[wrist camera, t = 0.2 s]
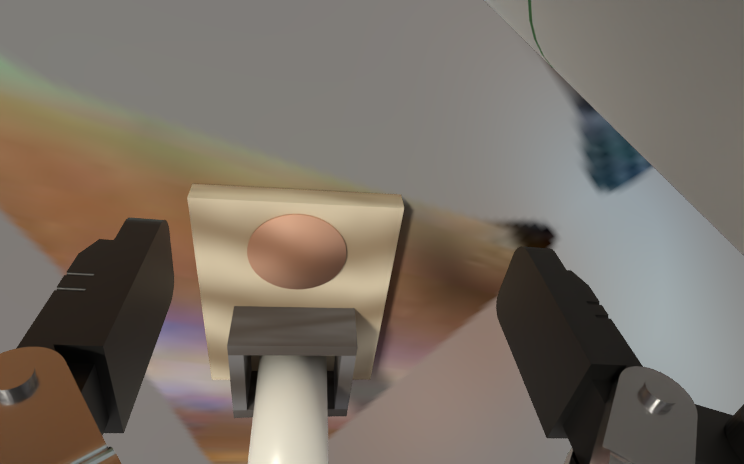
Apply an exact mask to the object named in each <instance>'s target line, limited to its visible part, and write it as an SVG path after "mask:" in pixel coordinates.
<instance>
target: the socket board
mask: <svg viewBox="0 0 744 464" xmlns="http://www.w3.org/2000/svg"><path fill="white" fill-rule="evenodd" d="M187 199H188V206H189V213H190V221H191V228H192V236H193V243H194V251H195V258H196V265H197V273H198V280H199V288H200V295H201V303H202V310H203V318H204V325H205V332H206V340H207V347H208V355H209V362H210V370H211V377H212V380H230V382H231V393H232V403H233V413H234V418H244V417H253V413H254V404H255V395H256V386H257V377H258V368H259V359H260V355H269V356H327V409H328V416H347V409H348V403H349V397H350V391H351V385H352V379H370V377H371V372H372V367H373V362H374V357H375V352H376V347H377V342H378V337H379V332H380V327H381V322H382V317H383V312H384V307H385V302H386V297H387V292H388V287H389V282H390V277H391V272H392V267H393V262H394V257H395V252H396V247H397V242H398V237H399V232H400V227H401V222H402V217H403V212H404V205H403V201H402V197H401V195H397V194H378V193H359V192H340V191H321V190H302V189H283V188H264V187H245V186H227V185H208V184H192V186H191V189H190V192H189V195H188V197H187Z"/></svg>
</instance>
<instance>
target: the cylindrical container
mask: <svg viewBox="0 0 744 464" xmlns="http://www.w3.org/2000/svg"><path fill="white" fill-rule="evenodd" d="M484 1H485V2H486V3H487V4H488V5H489V6H490V7H491V8H492V9H493V10H494V11H495V12H496V13H497V14H498V15H499V16H500V17H501V18H502V19H503V20H504V21H505V22H506V23H507V24H508V25H509V26H510V27H511V28H512V29H513V30H515V31H516V32H517V33H518V34H519V35H520V36H521V37H522V38H523V39H524V40H525V41H526V42H527V43H528V44H529V45H530V46H531V47H532V48H533V49H534V50H535V51H536V52H537V53H538V54H539V55H540V56H541V57H542V58H543V59H544V60H545V61H546V62H547V63H548V64H549V65H550V66H551V67H552V68H553V69H554V70H555V71H556V72H557V73H558V74H559V75H560V76H561V77H562V78H563V79H564V80H565V81H566V82H567V83H568V84H569V85H571V86H572V87H573V88H574V89H575V90H576V91H577V92H578V93H579V94H580V95H581V96H582V97H583V98H584V99H585V100H586V101H587V102H588V103H589V104H590V105H591V106H592V107H593V108H594V109H595V110H596V111H597V112H598V113H599V114H600V115H601V116H602V117H603V118H604V119H605V120H606V121H607V122H608V123H609V124H610V125H611V126H612V127H613V128H614V129H615V130H616V131H617V132H618V133H619V134H620V135H621V136H622V137H623V138H624V139H625V140H627V141H628V142H629V143H630V144H631V145H632V146H633V147H634V148H635V149H636V150H637V151H638V152H639V153H640V154H641V155H642V156H643V157H644V158H645V159H646V160H647V161H648V162H649V163H650V164H651V165H652V166H653V167H654V168H655V169H656V170H657V171H658V172H659V173H660V174H661V175H662V176H663V177H664V178H665V179H666V180H667V181H668V182H669V183H670V184H671V185H673V187H675V189H676V190H677V191H678V192H679V193H680V194H682V195H683V196H684V197H685V198H686V199H687V200H688V201H689V202H690V203H691V204H692V205H693V206H694V207H695V208H696V209H697V210H698V211H699V212H700V213H701V214H702V215H703V216H704V217H705V218H706V219H707V220H708V221H709V222H710V223H711V224H712V225H713V226H714V227H715V228H716V229H717V230H718V231H719V232H720V233H721V234H722V235H723V236H724V237H725V238H726V239H727V240H728V241H729V242H730V243H731V244H732V245H733V246H734V247H735V248H737V250H739V251H740V252H741V253H742V254H743V255H744V0H484Z"/></svg>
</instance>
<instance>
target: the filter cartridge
mask: <svg viewBox="0 0 744 464" xmlns="http://www.w3.org/2000/svg"><path fill="white" fill-rule="evenodd" d="M248 464H328V409H327V356H269V355H260V359H259V368H258V377H257V386H256V395H255V404H254V413H253V422H252V431H251V440H250V449H249V458H248Z"/></svg>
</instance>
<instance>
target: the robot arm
mask: <svg viewBox="0 0 744 464" xmlns="http://www.w3.org/2000/svg"><path fill="white" fill-rule="evenodd" d="M173 288H174V271H173V262H172V253H171V243H170V234H169V226H168V223H167V221H166V220H155V219H141V218H128V219H126V221H125V222H124V224H123V226H122V227H121V229H120V231H119V233H118V234H117V236H116V238H115V239H114V240H103V239H99V240H98V241H96V242H95V243H93V244H92V245H90V246H89V247H88V248H86V249H85V250H83V251H82V252H81V253H79V254H78V255H77V257H76V258H75V260H74V262H73V263H72V265H71V266H70V268H69V269H68V271H67V275H64V277H63V278H62V280H61V281H60V283H59V284H58V286H57V290H55V291H54V292H53V293H52V295H51V297H50V298H49V300H48V301H47V303H46V304H45V306H44V307H43V309H42V310H41V312H40V313H39V315H38V316H37V318H36V319H35V321H34V322H33V324H32V325H31V327H30V329H29V330H28V331H27V333H26V334H25V336H24V337H23V339H22V341H21V342H20V344H19V345H18V347H17V348H16V349H13V350H9V351H6V352H3V353H1V354H0V464H121V462H120V460H119V458H118V456H117V455H116V453H115V451H114V450H113V448H112V447H109V448H108V446H107V445H106V443H105V441H104V439H103V437H102V435H103V433H124V431H125V428H126V425H127V422H128V420H129V417H130V414H131V411H132V409H133V406H134V403H135V400H136V398H137V395H138V392H139V389H140V386H141V384H142V381H143V378H144V375H145V373H146V370H147V367H148V364H149V362H150V359H151V356H152V353H153V350H154V348H155V345H156V342H157V339H158V337H159V334H160V331H161V328H162V325H163V323H164V320H165V317H166V314H167V312H168V309H169V306H170V303H171V300H172V295H173ZM496 307H497V308H496V309H497V316H498V320H499V322H500V325H501V327H502V330H503V332H504V335H505V337H506V339H507V342H508V344H509V347H510V349H511V351H512V354H513V357H514V359H515V361H516V364H517V366H518V369H519V371H520V374H521V376H522V378H523V381H524V384H525V386H526V388H527V391H528V393H529V396H530V398H531V401H532V403H533V406H534V408H535V410H536V413H537V415H538V417H539V420H540V423H541V425H542V427H543V430H544V432H545V435H546V437H547V438H568V439H569V441H570V444H571V446H572V448H571V450H570V451H569V452H568V454H567V457H566V459H565V463H564V464H744V405H743V406H742V407H741V408H740V409H739V410H738V411H737V412H736V413H735V415H730V414H726V413H723V412H719V411H716V410H713V409H709V408H706V407H703V406H699V405H696V404H694V402H693V400H692V398H691V397H690V395H689V394H688V393H687V392H686V391H685V390H684V389H683V388H682V387H681V386H680V385H679V384H678V383H677V382H675V381H674V380H673V379H671V378H670V377H668V376H666V375H664V374H663V373H661V372H658V371H656V370H654V369H650V368H646V367H643V366H642V365H641V363H640V362H639V360H638V359H637V357H636V356H635V354H634V353H633V351H632V350H631V348H630V347H629V346H628V344H627V342H626V341H625V339H624V338H623V336H622V335H621V333H620V332H619V330H618V329H617V327H616V326H615V324H614V323H613V321H612V320H611V319H609V318H608V314H607V312H606V311H605V310H604V308H603V306H602V305H599V301H598V299H597V298H596V296H595V294H594V293H593V291H592V290H591V288H590V287H589V285H587V284H586V283H585V282H584V281H583V280H582V279H580V278H579V277H578V276H577V275H576V274H574V273H573V272H572V271H569V270H568V271H567V270H566V269H565V267H564V266H563V264H562V262H561V261H560V259H559V258H558V256H557V255H556V253H555V252H554V251H553V250H552V249H548V248H534V247H519V248H517V249H516V251H515V252H514V255H513V257H512V260H511V262H510V265H509V267H508V270H507V273H506V275H505V278H504V280H503V283H502V285H501V288H500V290H499V293H498V297H497V304H496Z"/></svg>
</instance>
